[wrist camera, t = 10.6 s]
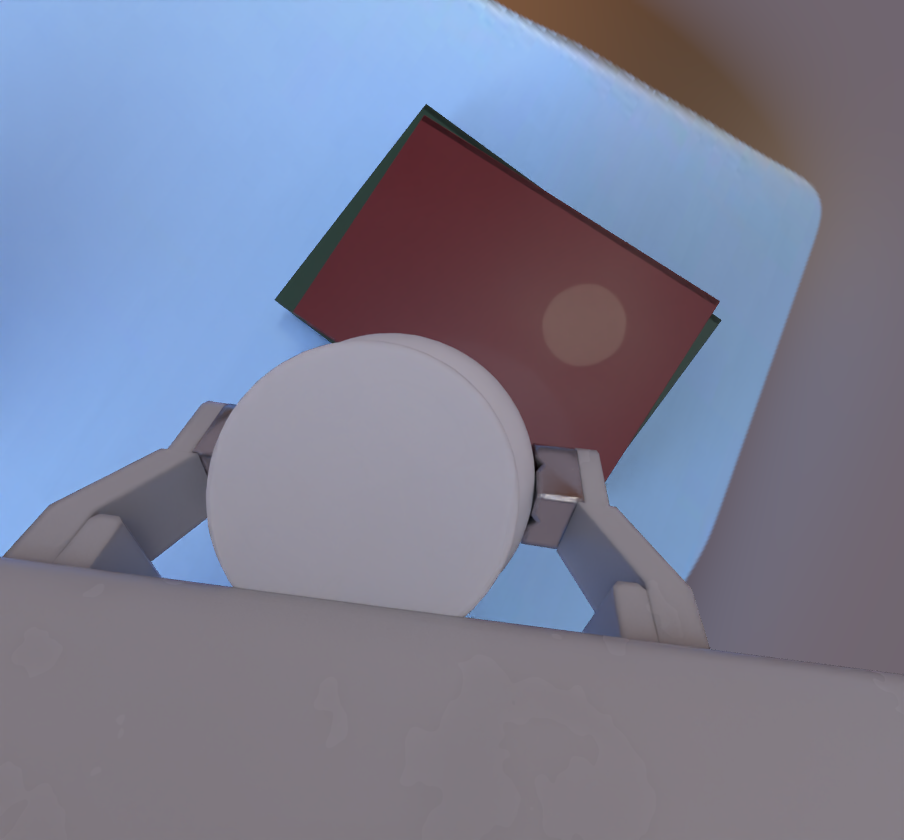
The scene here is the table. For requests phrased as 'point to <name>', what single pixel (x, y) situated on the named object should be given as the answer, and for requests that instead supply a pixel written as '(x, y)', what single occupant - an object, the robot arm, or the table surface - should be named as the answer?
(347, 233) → the upper book
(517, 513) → the pill bottle
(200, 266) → the table surface
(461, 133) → the lower book
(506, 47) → the table surface
